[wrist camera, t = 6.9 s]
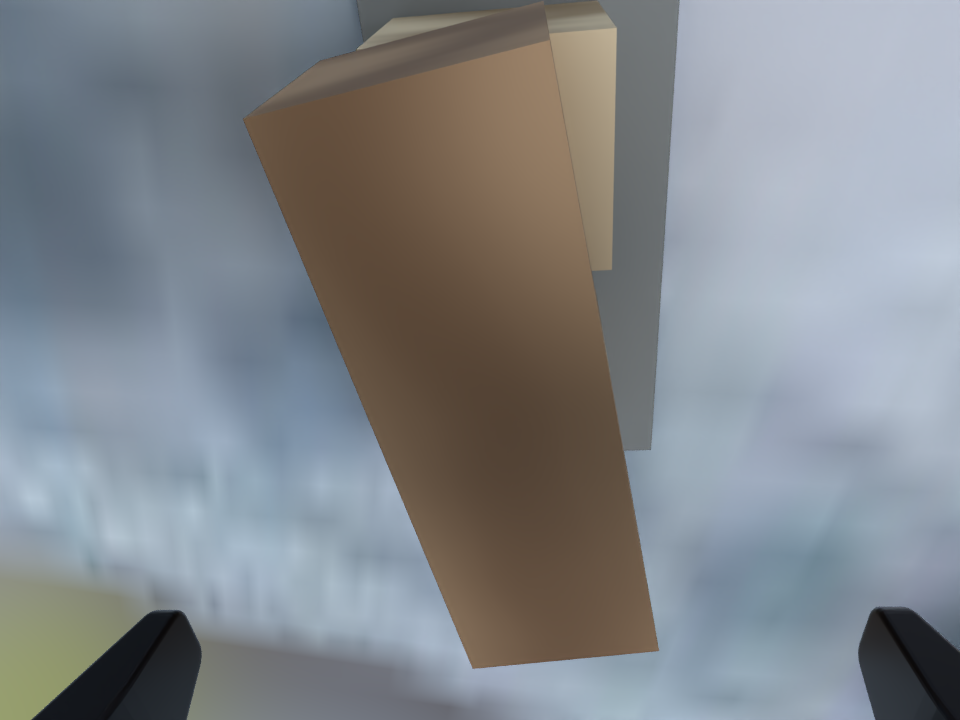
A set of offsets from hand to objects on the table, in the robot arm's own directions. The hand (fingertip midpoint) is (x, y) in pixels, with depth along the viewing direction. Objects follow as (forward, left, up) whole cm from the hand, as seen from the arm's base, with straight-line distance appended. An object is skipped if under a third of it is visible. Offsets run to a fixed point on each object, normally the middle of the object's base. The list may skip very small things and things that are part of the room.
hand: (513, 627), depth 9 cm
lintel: (0, 0, -7) cm, 7 cm away
